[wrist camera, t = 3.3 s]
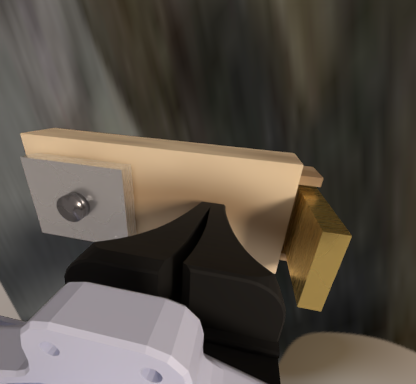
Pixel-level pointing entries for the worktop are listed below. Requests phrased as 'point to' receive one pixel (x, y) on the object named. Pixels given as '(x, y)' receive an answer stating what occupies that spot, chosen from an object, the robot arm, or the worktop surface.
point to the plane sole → (196, 181)
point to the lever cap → (81, 196)
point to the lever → (313, 247)
